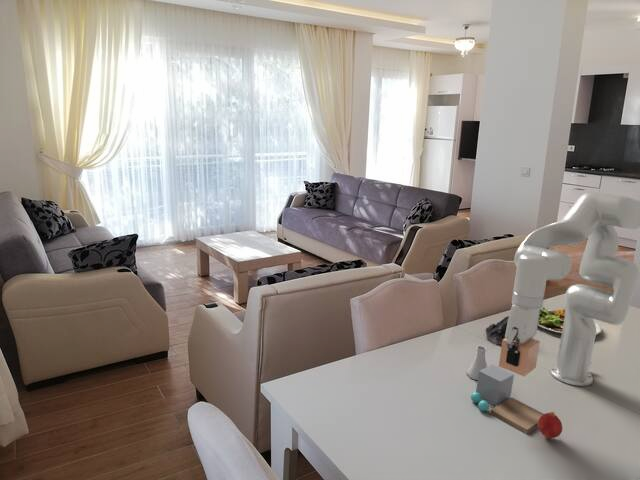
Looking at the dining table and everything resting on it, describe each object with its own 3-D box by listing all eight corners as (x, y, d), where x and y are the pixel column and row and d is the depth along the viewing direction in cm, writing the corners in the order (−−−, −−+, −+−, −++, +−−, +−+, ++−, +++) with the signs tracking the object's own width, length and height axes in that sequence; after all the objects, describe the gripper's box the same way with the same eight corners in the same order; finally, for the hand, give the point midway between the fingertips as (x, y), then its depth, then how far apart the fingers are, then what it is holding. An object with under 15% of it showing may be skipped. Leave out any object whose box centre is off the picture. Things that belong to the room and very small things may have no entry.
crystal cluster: (478, 340, 183) (482, 317, 180) (491, 327, 193) (495, 305, 190) (512, 354, 176) (518, 331, 172) (524, 339, 185) (530, 317, 182)
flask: (490, 382, 152) (494, 354, 149) (467, 379, 153) (471, 351, 150) (487, 371, 158) (491, 344, 156) (465, 368, 160) (468, 341, 157)
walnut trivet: (511, 400, 142) (511, 397, 142) (547, 419, 134) (547, 415, 133) (490, 413, 135) (490, 409, 135) (526, 433, 127) (527, 429, 127)
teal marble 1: (467, 393, 141) (470, 399, 142) (472, 400, 138) (475, 406, 139) (476, 388, 141) (479, 394, 142) (481, 395, 138) (484, 401, 139)
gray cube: (489, 387, 149) (492, 364, 147) (510, 398, 143) (514, 374, 141) (475, 394, 144) (478, 370, 142) (496, 406, 139) (500, 381, 137)
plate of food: (514, 323, 200) (516, 309, 198) (542, 308, 218) (545, 295, 217) (585, 347, 180) (588, 333, 178) (610, 329, 198) (613, 315, 197)
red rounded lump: (531, 431, 128) (536, 405, 126) (551, 431, 129) (556, 404, 127) (543, 445, 122) (548, 418, 120) (564, 445, 123) (569, 418, 121)
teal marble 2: (481, 396, 137) (477, 403, 139) (479, 403, 135) (475, 410, 136) (491, 401, 136) (487, 408, 138) (489, 408, 134) (486, 415, 135)
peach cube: (535, 367, 132) (539, 341, 130) (524, 376, 127) (528, 349, 125) (510, 357, 136) (514, 332, 134) (498, 366, 132) (502, 339, 130)
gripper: (527, 288, 135) (518, 345, 139) (498, 303, 123) (490, 364, 128) (554, 295, 130) (545, 354, 134) (527, 312, 118) (517, 376, 123)
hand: (518, 359), depth 131 cm, fingers closed on peach cube, 7 cm apart
